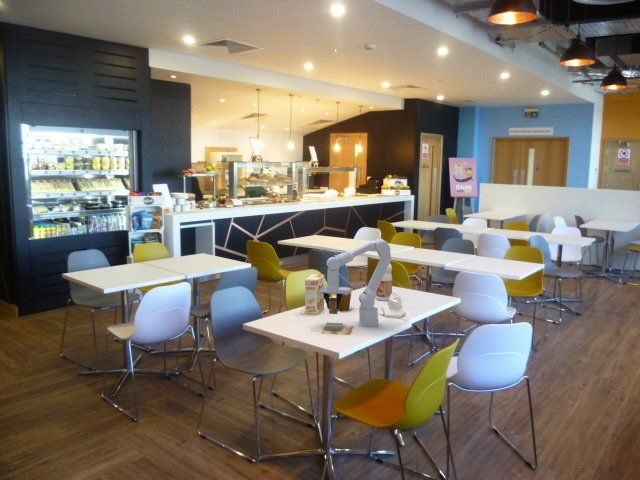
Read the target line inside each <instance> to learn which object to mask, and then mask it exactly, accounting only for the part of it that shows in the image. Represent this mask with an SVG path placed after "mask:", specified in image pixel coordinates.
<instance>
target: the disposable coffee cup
mask: <svg viewBox="0 0 640 480" xmlns="http://www.w3.org/2000/svg"><path fill="white" fill-rule="evenodd" d="M339 290H346V291H348V295H343V296H342V298H341V300H340V303H339V309H338V312H339V311H340V312H347V311H349V310H350V305H351V298H352V293H353V290H352V288H351V287H349V286H339ZM335 298H337V294H335Z"/></svg>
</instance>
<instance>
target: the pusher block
mask: <svg viewBox="0 0 640 480" xmlns="http://www.w3.org/2000/svg"><path fill="white" fill-rule="evenodd" d="M338 312H339V310H338V309H337V298H336V297H329V309H328V314H329V315H338Z"/></svg>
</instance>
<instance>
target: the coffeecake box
mask: <svg viewBox="0 0 640 480" xmlns="http://www.w3.org/2000/svg"><path fill="white" fill-rule="evenodd" d="M304 282H305V283H304V285H305V286H304V291H305V292H304V295H305V297H304V300H305V301H304V303H305V310H304V311H305V313H304V314H305V315H313V316H314V315H315V316H318V315H319V314H321V312H322V311H323V310H325V299H324V297H323V295H324V294H318V290H319V289H325V274H321V273H320V274H318V273H312V274H311V275H309V276H308V277H307V278H305V279H304Z"/></svg>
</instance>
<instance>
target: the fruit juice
mask: <svg viewBox="0 0 640 480" xmlns="http://www.w3.org/2000/svg"><path fill="white" fill-rule="evenodd" d="M392 270H393V266H392V264H391V262H390V263H389V265H388V268H387V270H386V272H385V274H384V276H383V278H382V280H381V283H380V285H379V287H378V289H377V291H376V297H375V300H377V301H381V302H388V301H389V298H390V295H391V294H392V293H393V274H392Z"/></svg>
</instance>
